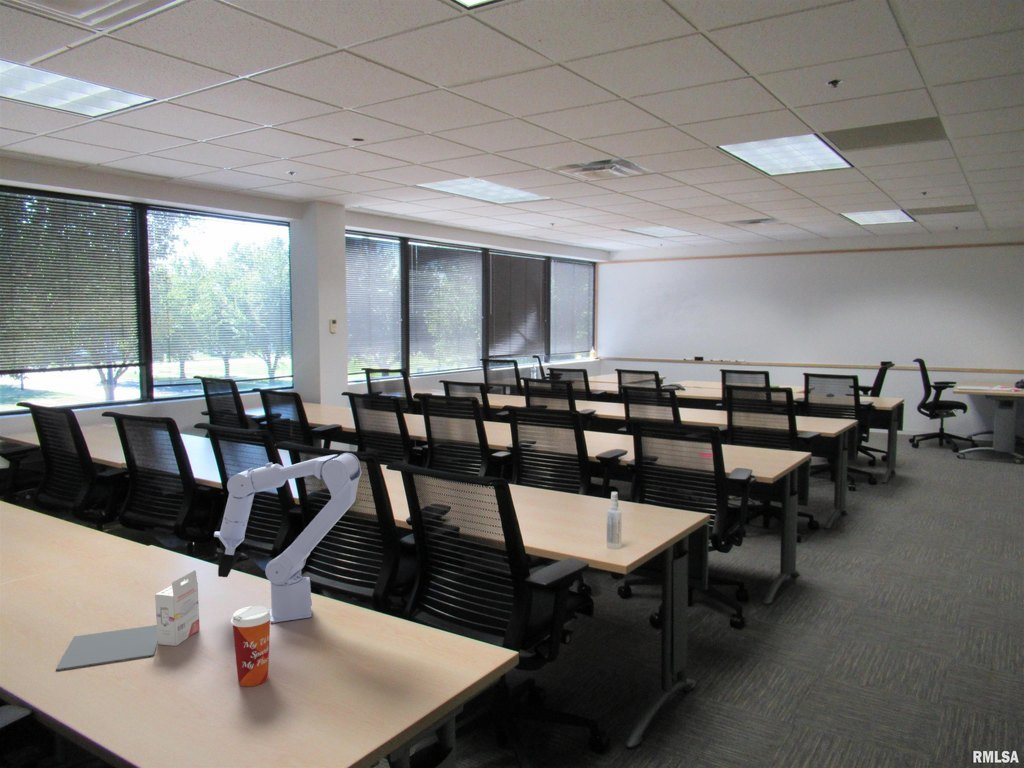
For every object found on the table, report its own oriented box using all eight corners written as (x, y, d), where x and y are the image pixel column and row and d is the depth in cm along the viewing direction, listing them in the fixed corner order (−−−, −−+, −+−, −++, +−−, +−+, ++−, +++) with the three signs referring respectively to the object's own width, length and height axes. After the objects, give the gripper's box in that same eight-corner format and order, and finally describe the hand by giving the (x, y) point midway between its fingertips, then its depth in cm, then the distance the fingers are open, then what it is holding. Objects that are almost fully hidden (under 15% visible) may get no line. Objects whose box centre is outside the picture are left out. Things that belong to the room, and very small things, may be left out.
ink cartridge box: (181, 628, 160) (179, 567, 159) (200, 630, 159) (198, 569, 158) (156, 644, 152) (153, 580, 150) (175, 646, 151) (173, 582, 150)
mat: (162, 625, 161) (162, 624, 161) (153, 656, 146) (153, 654, 146) (74, 638, 155) (74, 636, 155) (55, 671, 140) (55, 669, 140)
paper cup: (249, 693, 132) (247, 623, 130) (224, 682, 136) (222, 614, 135) (282, 676, 138) (280, 609, 137) (257, 666, 142) (255, 601, 141)
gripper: (219, 505, 172) (207, 554, 174) (217, 527, 159) (204, 581, 161) (249, 508, 175) (236, 557, 177) (248, 531, 162) (235, 584, 163)
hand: (223, 569), depth 169 cm, fingers open, 7 cm apart
